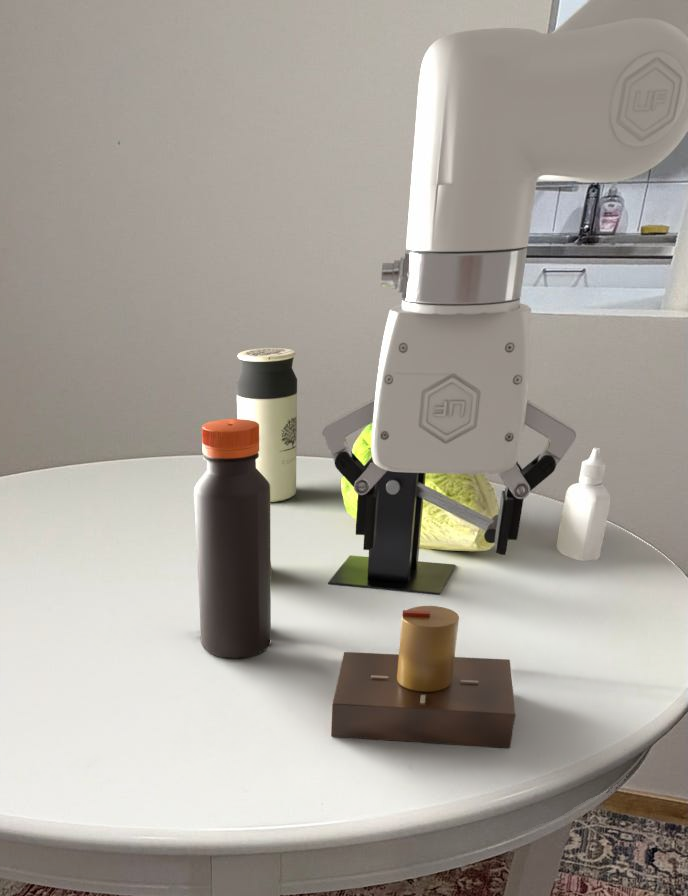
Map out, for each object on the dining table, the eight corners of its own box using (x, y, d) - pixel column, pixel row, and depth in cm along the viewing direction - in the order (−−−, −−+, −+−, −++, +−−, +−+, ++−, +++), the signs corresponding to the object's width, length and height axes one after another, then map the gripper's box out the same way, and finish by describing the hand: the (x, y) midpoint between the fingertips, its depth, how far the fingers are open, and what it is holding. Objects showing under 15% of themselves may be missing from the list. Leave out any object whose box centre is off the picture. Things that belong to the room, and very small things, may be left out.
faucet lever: (498, 534, 99) (511, 513, 98) (491, 550, 96) (504, 528, 94) (387, 477, 100) (398, 456, 99) (376, 490, 97) (386, 468, 95)
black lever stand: (454, 575, 106) (468, 453, 98) (439, 604, 99) (452, 476, 91) (349, 565, 109) (354, 447, 102) (327, 593, 103) (331, 469, 95)
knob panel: (505, 691, 82) (510, 657, 80) (510, 748, 74) (515, 712, 73) (342, 682, 85) (344, 649, 83) (330, 736, 77) (332, 701, 75)
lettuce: (410, 593, 104) (455, 467, 96) (315, 506, 121) (346, 391, 112) (517, 597, 110) (568, 478, 102) (413, 513, 127) (449, 405, 118)
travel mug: (227, 496, 134) (223, 354, 124) (267, 484, 138) (266, 345, 128) (268, 507, 129) (267, 359, 119) (307, 494, 133) (310, 350, 123)
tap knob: (451, 669, 79) (459, 602, 76) (451, 693, 76) (459, 624, 72) (398, 667, 80) (403, 600, 77) (395, 690, 77) (400, 622, 73)
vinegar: (191, 639, 94) (179, 422, 83) (253, 626, 96) (250, 412, 84) (217, 665, 89) (208, 437, 77) (282, 651, 91) (283, 427, 79)
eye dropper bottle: (556, 568, 106) (576, 454, 99) (554, 552, 110) (573, 441, 103) (598, 570, 105) (621, 455, 98) (594, 553, 109) (616, 442, 102)
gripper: (322, 290, 60) (313, 559, 70) (610, 286, 57) (558, 568, 67) (334, 278, 66) (324, 527, 76) (596, 274, 63) (550, 535, 73)
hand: (433, 546), depth 71 cm, fingers open, 9 cm apart
